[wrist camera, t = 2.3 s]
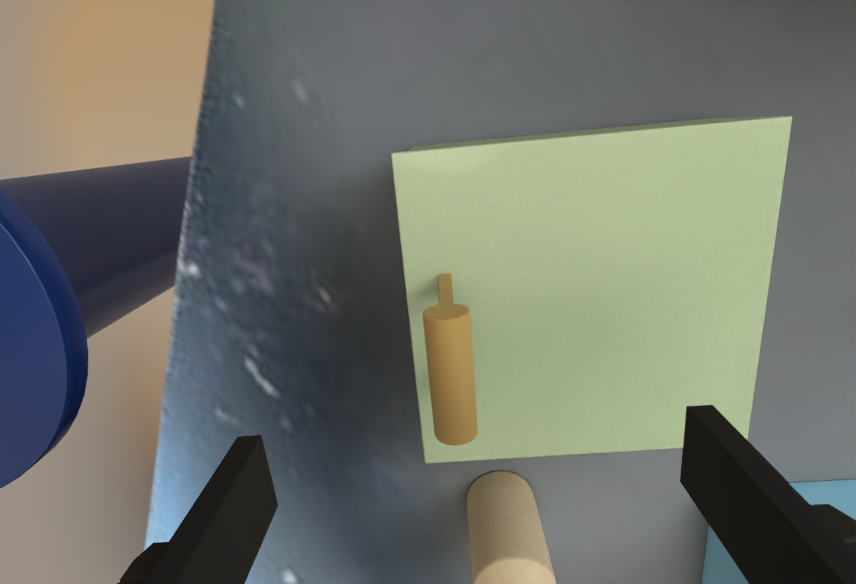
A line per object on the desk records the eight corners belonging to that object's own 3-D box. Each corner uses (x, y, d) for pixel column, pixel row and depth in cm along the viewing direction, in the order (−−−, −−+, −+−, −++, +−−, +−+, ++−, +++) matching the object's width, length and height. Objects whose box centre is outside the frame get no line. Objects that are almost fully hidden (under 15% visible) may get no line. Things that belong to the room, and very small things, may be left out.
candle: (513, 532, 41) (535, 653, 32) (455, 509, 41) (459, 625, 31) (545, 485, 40) (578, 597, 30) (485, 460, 39) (499, 566, 30)
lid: (425, 455, 31) (420, 559, 24) (391, 152, 25) (372, 163, 18) (739, 436, 30) (837, 537, 23) (782, 116, 24) (933, 112, 17)
